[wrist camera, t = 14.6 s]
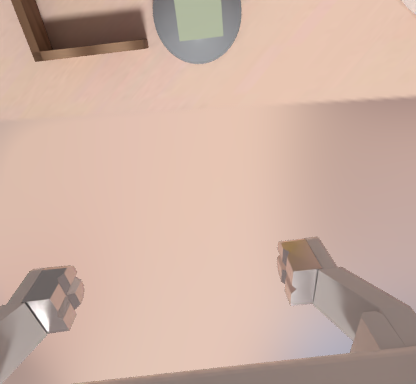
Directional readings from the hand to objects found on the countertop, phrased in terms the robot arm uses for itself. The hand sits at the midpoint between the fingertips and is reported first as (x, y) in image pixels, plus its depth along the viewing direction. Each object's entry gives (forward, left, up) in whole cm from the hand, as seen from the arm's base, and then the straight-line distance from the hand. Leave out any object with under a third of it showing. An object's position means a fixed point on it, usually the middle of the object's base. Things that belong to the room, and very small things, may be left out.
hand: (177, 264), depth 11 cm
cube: (-3, -10, -32) cm, 34 cm away
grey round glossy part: (-3, -10, -33) cm, 35 cm away
